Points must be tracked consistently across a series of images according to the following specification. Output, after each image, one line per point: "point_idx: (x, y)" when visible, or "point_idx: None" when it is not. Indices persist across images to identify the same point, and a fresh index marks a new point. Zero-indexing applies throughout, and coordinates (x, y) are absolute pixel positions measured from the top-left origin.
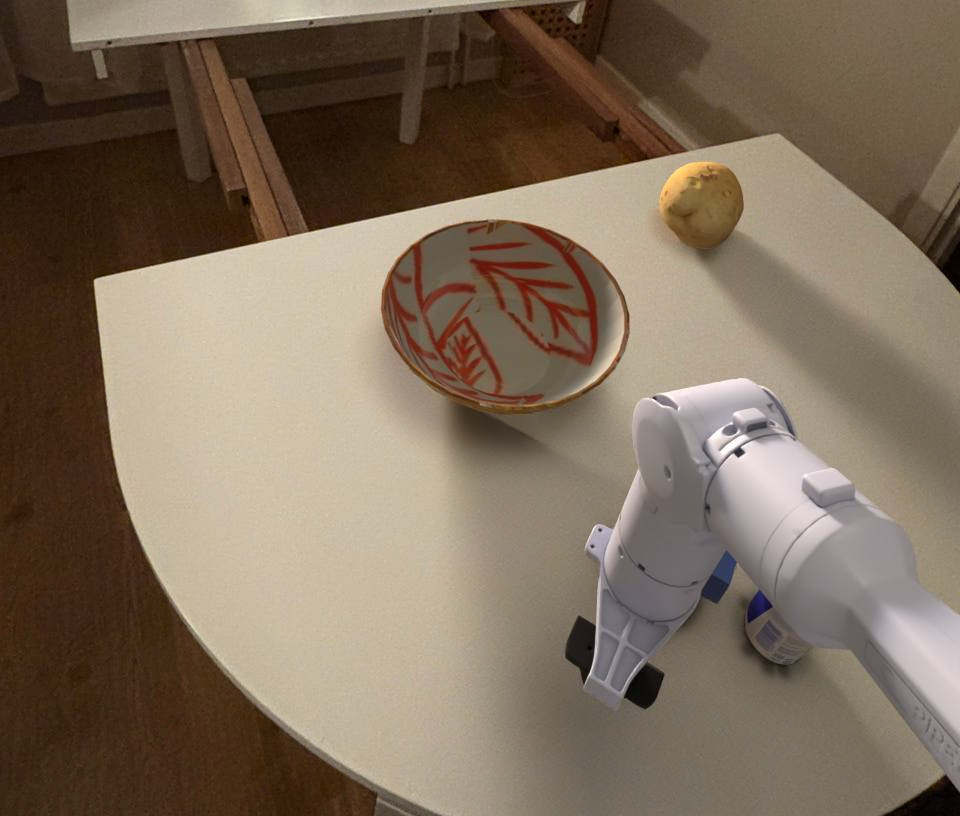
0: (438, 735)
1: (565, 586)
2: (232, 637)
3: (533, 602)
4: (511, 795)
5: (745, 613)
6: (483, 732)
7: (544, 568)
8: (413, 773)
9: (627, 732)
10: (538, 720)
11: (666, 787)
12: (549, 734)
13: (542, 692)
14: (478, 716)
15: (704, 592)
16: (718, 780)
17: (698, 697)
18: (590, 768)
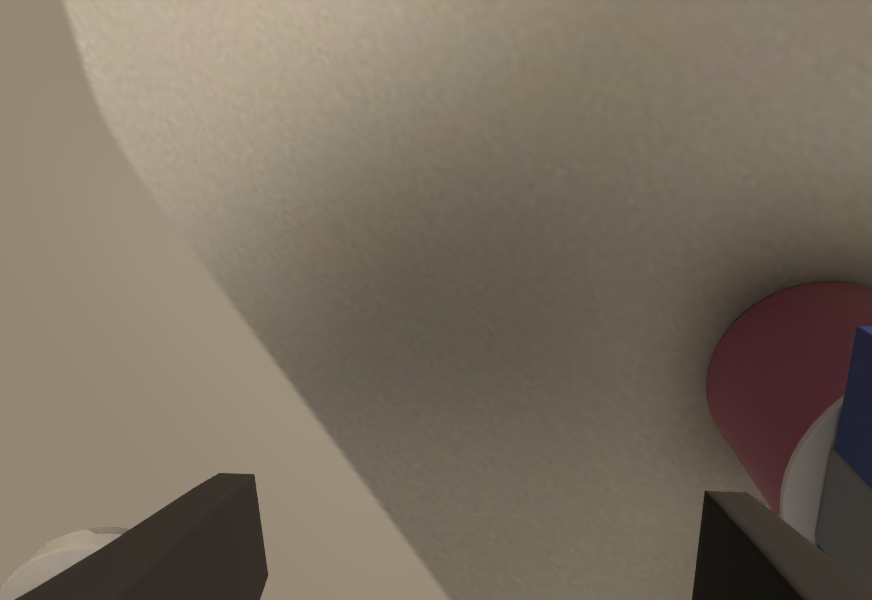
0: (194, 52)
1: (683, 164)
2: None
3: (595, 103)
4: (213, 253)
5: None
6: (264, 143)
7: (704, 84)
8: (105, 44)
9: (450, 414)
10: (359, 242)
11: (407, 501)
12: (350, 275)
13: (413, 225)
14: (282, 116)
15: None
16: (473, 575)
17: (593, 517)
18: (349, 371)
